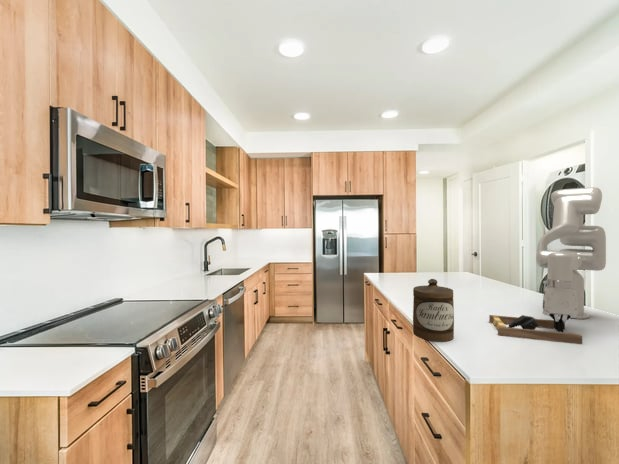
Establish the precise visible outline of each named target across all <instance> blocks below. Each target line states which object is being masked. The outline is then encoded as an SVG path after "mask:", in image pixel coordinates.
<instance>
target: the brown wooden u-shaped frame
mask: <svg viewBox="0 0 619 464" xmlns="http://www.w3.org/2000/svg"><path fill="white" fill-rule="evenodd" d="M488 316H489V317H488V318H489V320H488V321H489V323H490V324H493V326H494V327H495V328H496V330H497V335H498V336H500V337H501V336H502V337H511V338H519V339H520V338H521V339H528V340H529V339H532V340H537V341H539V340H540V341H541V340H542V341H549V342H560V343H568V344H569V343H570V344H578V345H583V335H582V334H581V333H572V332H571V333H570V332H558V331H549V330H538V329H535V330H530V329H523V328H518V327H519V326H520V327H521V325H519V326H518V327H514V328H509V325H510V324H511V323H512V322H513V321H514V320H516V319H517V318H519V317H520V316H518V317H517V316H505V315H504V316H503V315H496V314H495V315H493V314H489V315H488ZM534 319H535V320H536V322H537V323H538V327H537V328H544V329H554V320H553V319H542V318H541V319H540V318H534ZM507 325H508V326H507ZM554 330H555V329H554Z"/></svg>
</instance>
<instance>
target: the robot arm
mask: <svg viewBox="0 0 619 464" xmlns="http://www.w3.org/2000/svg"><path fill="white" fill-rule="evenodd" d="M550 199H551V204H552V205H553V217H552V227H551V229H549V230H548V231H547V232H546V233H544V234H543V235H542V236H541V238H540V239H539V240H538V243H537V247H536V257H535V258H536V259H535V260H536V264H537V266H538V267H539V268H542V269H547V277H546V280H542V283H543V285H546V286H545V288H544V292H543V295H542V312H541V313H542V314H543V315H544V316H547V317H550V318H551V320H554V330H555V332H562V333H564V330H565V329H566V323H567V321H569V319H578V320H584V319H585V320H586V319H589V314H588V313H585V279H584V277H583V275H582V274H581V273H580V272H579V271H578V270H582V271H595V272H596V271H597V272H598V271H603V270H604V269H605V268H606V265H607V237H606V235H607V234H606V231H605V229H604V228H603V227H602V226H599V225H585V224H584V215H595V214H598V212H599V211H600V210H601V209H600V208H601V204H602V199H603V193H602V190H601V189H600V188H599V187H594V186H593V187H590V186H589V187H577V188H566V189H565V188H564V189H558V190H555V191H553V192H552V193H551V194H550ZM557 240H559V241H560V243H561V245H564V246H570V247H590V248H591V249H588V248H587V249H583V248H562V249H559V250H550V249H549V250H546V249H547V246H548V245H549V244H550V243H551V244H552V242H554V241H557Z"/></svg>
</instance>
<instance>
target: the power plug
mask: <svg viewBox="0 0 619 464" xmlns="http://www.w3.org/2000/svg"><path fill="white" fill-rule="evenodd" d="M518 317H519V318H517V319H516V320H514V321H513V322H512V323H511V324H510V325H508V327H509V328H518V327H519V325H521V326H520V327H521V329H530V330H537V328H539V327H538V323H537V322H536V320H535V319H536V318H535V317H533V316H528V315H523V314H522V315H520V316H518Z"/></svg>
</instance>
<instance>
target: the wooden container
mask: <svg viewBox="0 0 619 464" xmlns="http://www.w3.org/2000/svg"><path fill="white" fill-rule="evenodd" d="M427 283H428V285H417V286H414V287H413V288H412V289H413V294H412V295H413V305H412V308H413V310H412V333H413V335H414V336H415V337H417V338H419V339H421V340H425V341H428V342H429V341H430V342H440V343H441V342H442V343H443V342H449V341H452V340H453V339H454V337H455V335H454V334H455V332H454V331H455V330H454V329H455V312H454V311H455V310H454V290H453V289H452V288H449V287H445V286H440V285H438V280H437V279H435V278H430V279H428V280H427Z"/></svg>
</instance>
